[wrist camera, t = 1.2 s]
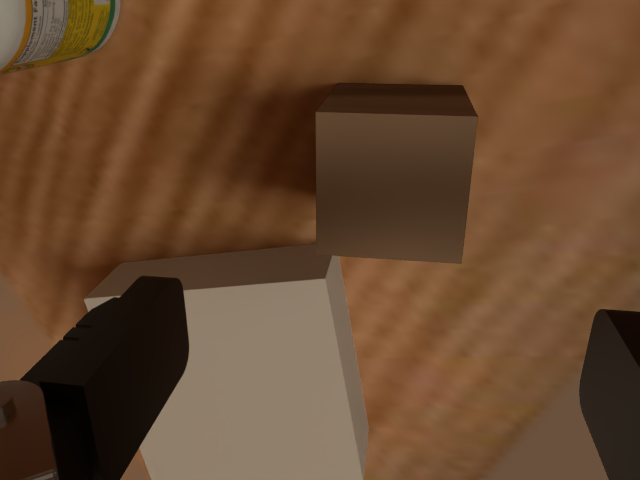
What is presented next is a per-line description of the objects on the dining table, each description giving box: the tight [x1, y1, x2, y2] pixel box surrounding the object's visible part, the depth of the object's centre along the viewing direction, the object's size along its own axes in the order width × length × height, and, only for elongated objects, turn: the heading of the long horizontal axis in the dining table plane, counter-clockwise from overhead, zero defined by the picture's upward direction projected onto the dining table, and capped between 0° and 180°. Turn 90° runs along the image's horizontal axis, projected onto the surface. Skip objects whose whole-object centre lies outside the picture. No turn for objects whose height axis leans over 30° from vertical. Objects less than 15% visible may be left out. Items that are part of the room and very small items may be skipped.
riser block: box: [84, 244, 369, 480], centre depth 28 cm, size 11×11×4 cm
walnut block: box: [316, 83, 478, 264], centre depth 21 cm, size 5×5×6 cm
